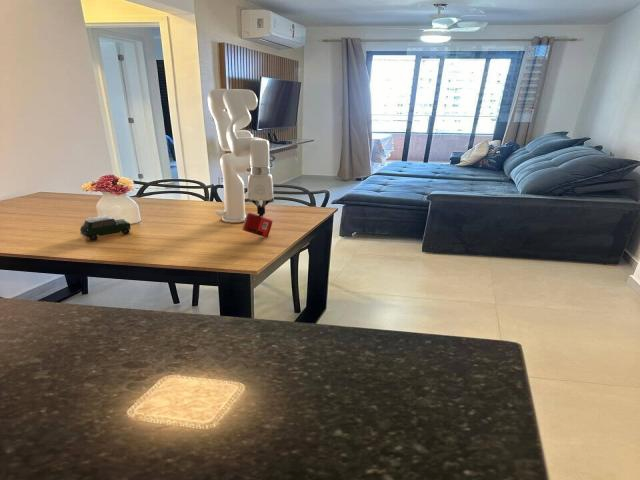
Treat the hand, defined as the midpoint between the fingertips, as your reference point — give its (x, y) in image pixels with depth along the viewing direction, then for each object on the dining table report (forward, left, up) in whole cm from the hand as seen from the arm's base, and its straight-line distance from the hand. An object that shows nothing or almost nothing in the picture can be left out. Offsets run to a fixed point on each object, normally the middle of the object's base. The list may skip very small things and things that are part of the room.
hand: (261, 215), depth 157 cm
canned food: (+4, 0, -6) cm, 7 cm away
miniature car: (-64, -1, -10) cm, 65 cm away
